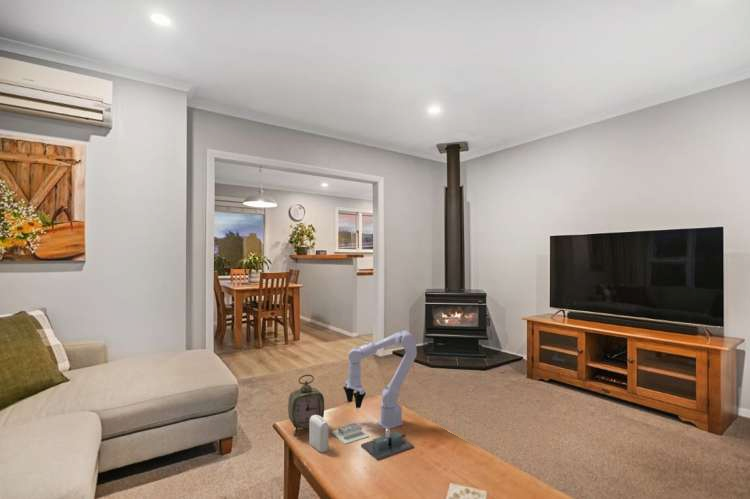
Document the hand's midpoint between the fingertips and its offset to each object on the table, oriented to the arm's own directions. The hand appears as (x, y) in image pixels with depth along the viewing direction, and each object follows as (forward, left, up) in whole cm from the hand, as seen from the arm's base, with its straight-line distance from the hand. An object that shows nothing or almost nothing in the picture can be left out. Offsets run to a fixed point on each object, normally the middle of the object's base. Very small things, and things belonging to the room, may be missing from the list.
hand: (354, 404), depth 174 cm
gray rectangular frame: (+6, +7, -9) cm, 13 cm away
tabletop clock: (+21, -7, -10) cm, 24 cm away
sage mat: (+6, +7, -9) cm, 13 cm away
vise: (-2, +24, -9) cm, 26 cm away
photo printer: (+22, +9, -10) cm, 26 cm away
